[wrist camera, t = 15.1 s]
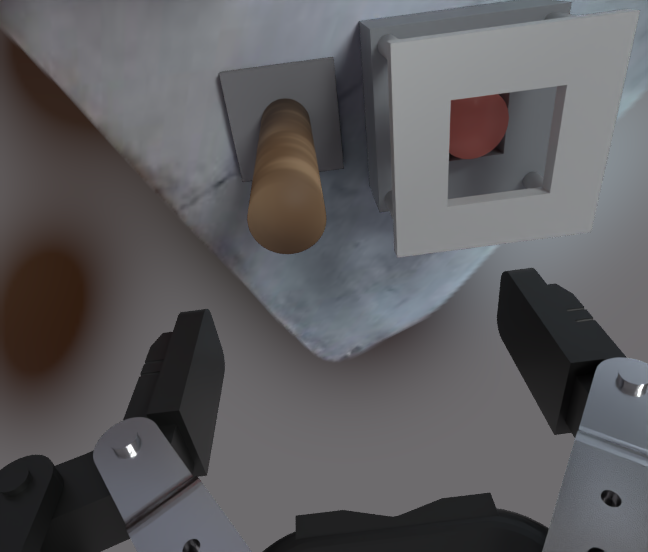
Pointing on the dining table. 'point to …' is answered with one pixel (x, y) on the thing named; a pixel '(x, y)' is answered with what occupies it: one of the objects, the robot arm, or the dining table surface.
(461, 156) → the breaker plunger
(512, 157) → the grey square frame
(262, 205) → the wooden cylinder rod
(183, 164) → the dining table surface
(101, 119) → the dining table surface
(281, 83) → the pad
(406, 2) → the dining table surface
